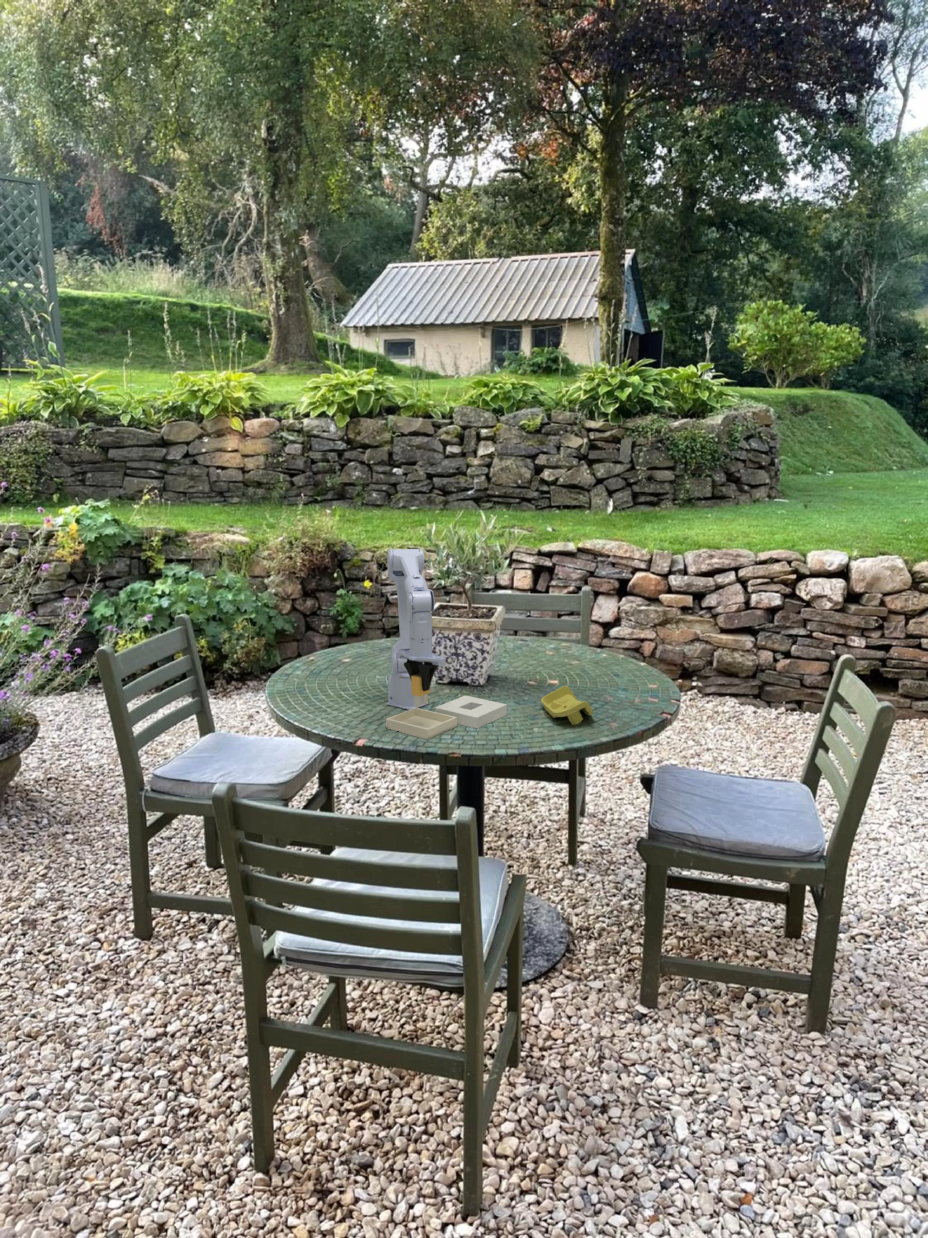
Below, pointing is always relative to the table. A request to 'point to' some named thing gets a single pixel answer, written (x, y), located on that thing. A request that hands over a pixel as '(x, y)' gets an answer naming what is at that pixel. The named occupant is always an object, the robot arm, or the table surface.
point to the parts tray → (421, 723)
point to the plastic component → (565, 705)
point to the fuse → (418, 690)
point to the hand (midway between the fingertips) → (421, 689)
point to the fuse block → (473, 711)
